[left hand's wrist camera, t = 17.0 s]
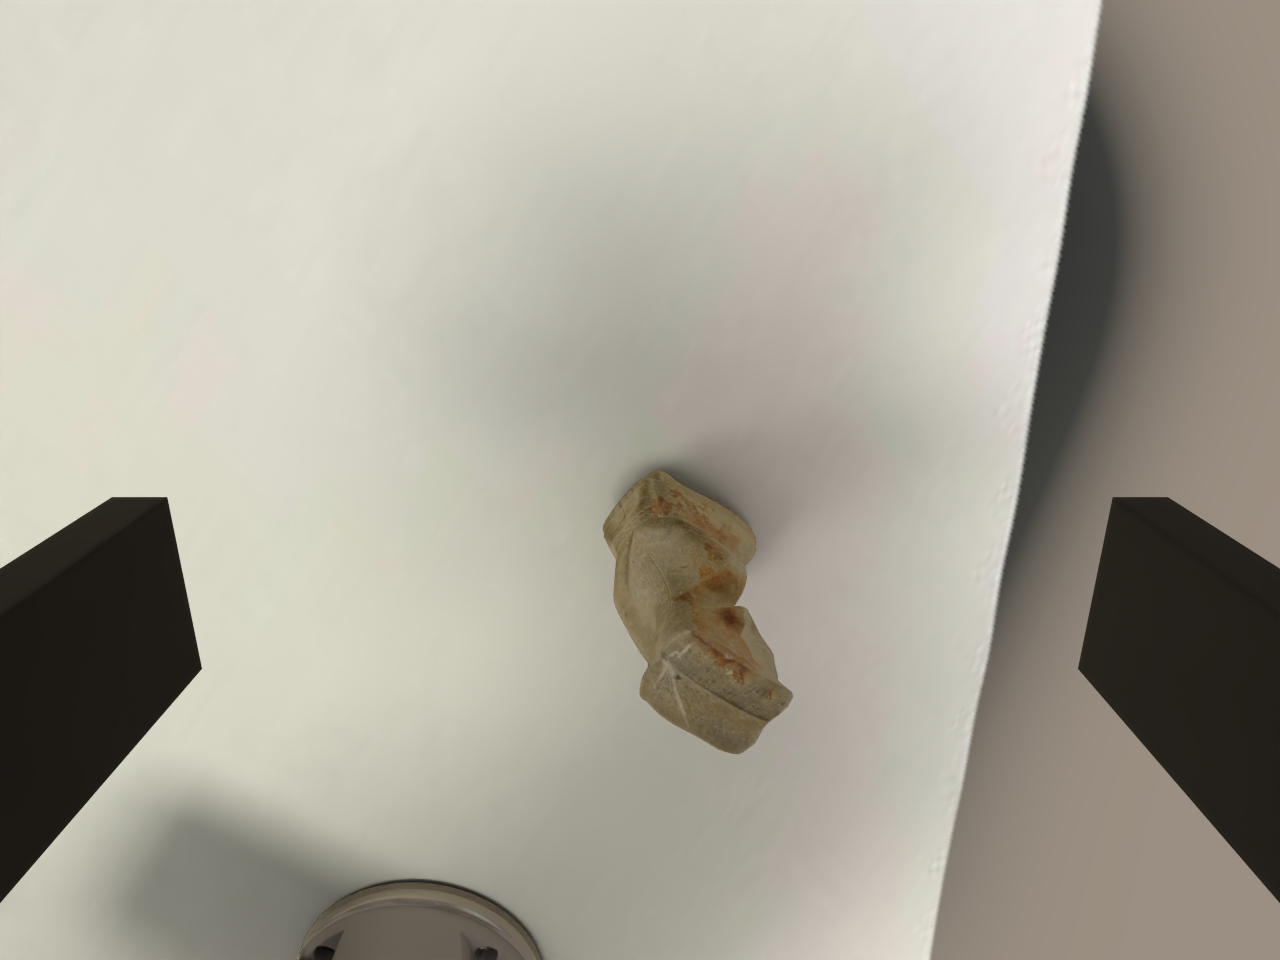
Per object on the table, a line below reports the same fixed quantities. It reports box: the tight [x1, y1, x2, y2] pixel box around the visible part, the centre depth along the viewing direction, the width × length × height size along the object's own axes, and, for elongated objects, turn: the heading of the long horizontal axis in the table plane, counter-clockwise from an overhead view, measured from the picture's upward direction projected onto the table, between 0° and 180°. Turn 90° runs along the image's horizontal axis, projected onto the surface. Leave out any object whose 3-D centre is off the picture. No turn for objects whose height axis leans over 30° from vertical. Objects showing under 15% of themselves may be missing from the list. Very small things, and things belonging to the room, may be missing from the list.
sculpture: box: [603, 470, 793, 754], centre depth 37 cm, size 6×7×15 cm
